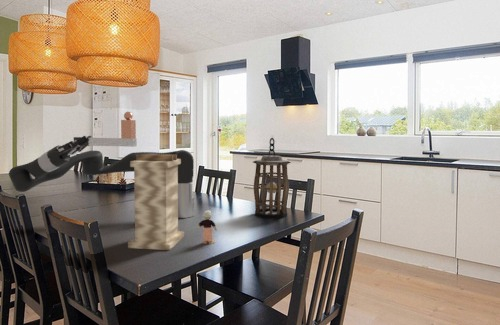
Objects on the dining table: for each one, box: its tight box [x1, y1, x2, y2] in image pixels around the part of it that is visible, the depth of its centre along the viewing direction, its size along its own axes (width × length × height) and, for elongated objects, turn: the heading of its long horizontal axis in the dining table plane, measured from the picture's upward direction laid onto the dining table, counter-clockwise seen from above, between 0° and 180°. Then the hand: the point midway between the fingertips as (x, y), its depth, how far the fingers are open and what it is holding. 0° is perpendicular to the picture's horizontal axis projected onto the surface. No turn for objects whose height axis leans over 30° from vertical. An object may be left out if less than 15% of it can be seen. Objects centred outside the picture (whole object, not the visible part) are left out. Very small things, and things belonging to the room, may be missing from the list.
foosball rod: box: [73, 111, 137, 147], centre depth 145 cm, size 24×4×13 cm, turn 83°
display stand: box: [127, 154, 185, 251], centre depth 145 cm, size 16×18×34 cm
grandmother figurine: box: [197, 210, 218, 245], centre depth 146 cm, size 8×4×13 cm, turn 92°
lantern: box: [252, 137, 292, 220], centre depth 194 cm, size 19×19×40 cm
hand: (89, 137), depth 146 cm, fingers closed on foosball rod, 3 cm apart
